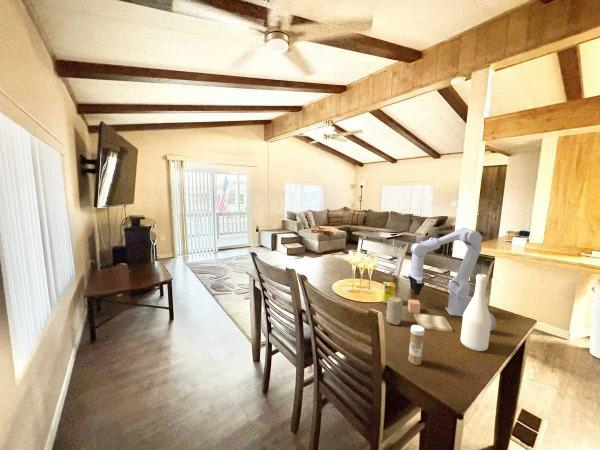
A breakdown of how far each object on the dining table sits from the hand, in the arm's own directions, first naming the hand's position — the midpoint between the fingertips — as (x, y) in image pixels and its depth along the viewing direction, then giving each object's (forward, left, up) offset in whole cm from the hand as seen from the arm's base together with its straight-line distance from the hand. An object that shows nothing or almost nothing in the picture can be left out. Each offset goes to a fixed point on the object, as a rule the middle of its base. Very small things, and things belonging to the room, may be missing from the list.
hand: (414, 291), depth 136 cm
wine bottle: (-18, +27, -11) cm, 34 cm away
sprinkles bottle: (+8, +44, -11) cm, 46 cm away
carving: (+12, +16, -11) cm, 22 cm away
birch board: (-6, +12, -10) cm, 17 cm away
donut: (-26, +14, -11) cm, 31 cm away
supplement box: (+12, -7, -11) cm, 18 cm away
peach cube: (0, 0, -10) cm, 11 cm away
